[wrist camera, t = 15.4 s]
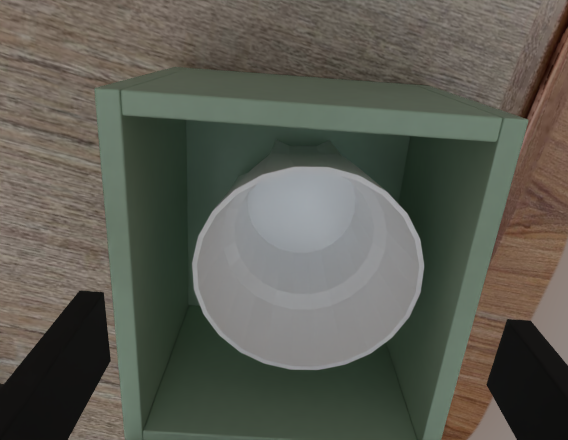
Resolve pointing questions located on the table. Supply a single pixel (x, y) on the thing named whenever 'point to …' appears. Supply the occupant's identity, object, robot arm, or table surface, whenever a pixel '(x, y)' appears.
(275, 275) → the cup
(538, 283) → the table surface
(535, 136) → the table surface
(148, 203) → the green box
